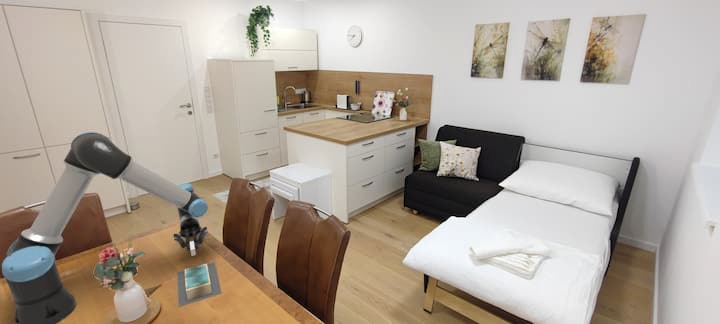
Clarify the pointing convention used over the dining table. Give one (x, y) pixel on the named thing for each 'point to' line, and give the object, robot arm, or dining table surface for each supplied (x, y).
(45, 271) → the robot arm
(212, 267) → the rubber mat
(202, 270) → the beige tall block
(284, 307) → the dining table surface
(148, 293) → the shard
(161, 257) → the dining table surface
